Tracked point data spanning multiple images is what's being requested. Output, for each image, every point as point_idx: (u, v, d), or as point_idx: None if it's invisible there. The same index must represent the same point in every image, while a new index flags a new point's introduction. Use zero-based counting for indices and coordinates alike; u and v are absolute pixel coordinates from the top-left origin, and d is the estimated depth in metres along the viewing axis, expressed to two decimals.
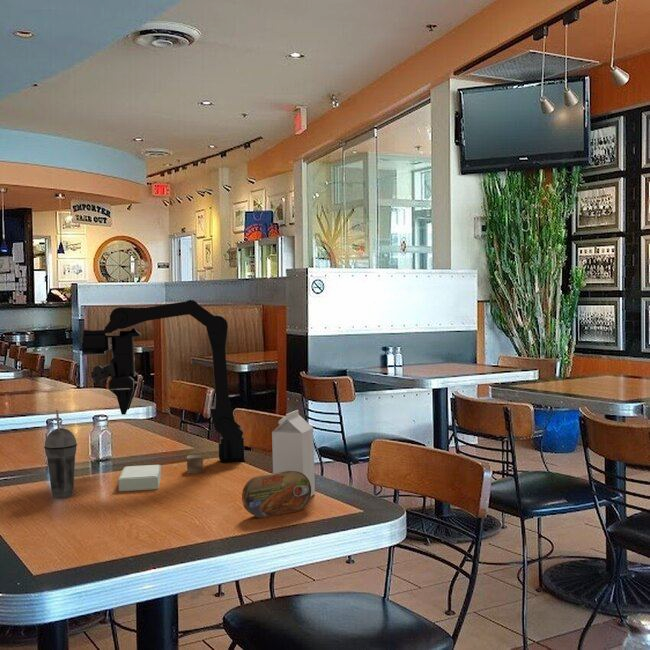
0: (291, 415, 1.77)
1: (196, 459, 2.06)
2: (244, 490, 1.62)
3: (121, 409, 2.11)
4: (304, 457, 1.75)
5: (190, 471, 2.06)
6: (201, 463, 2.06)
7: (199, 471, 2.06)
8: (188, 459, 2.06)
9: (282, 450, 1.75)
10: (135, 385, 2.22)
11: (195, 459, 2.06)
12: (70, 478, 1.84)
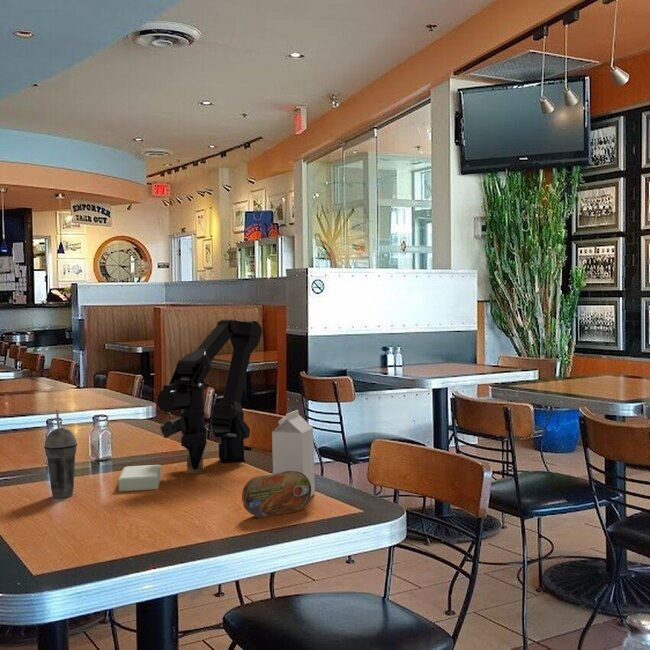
0: (291, 415, 1.77)
1: None
2: (244, 490, 1.62)
3: (193, 464, 2.05)
4: (304, 457, 1.75)
5: (190, 471, 2.06)
6: (201, 463, 2.06)
7: (199, 471, 2.06)
8: (188, 459, 2.06)
9: (282, 450, 1.75)
10: None
11: None
12: (70, 478, 1.84)
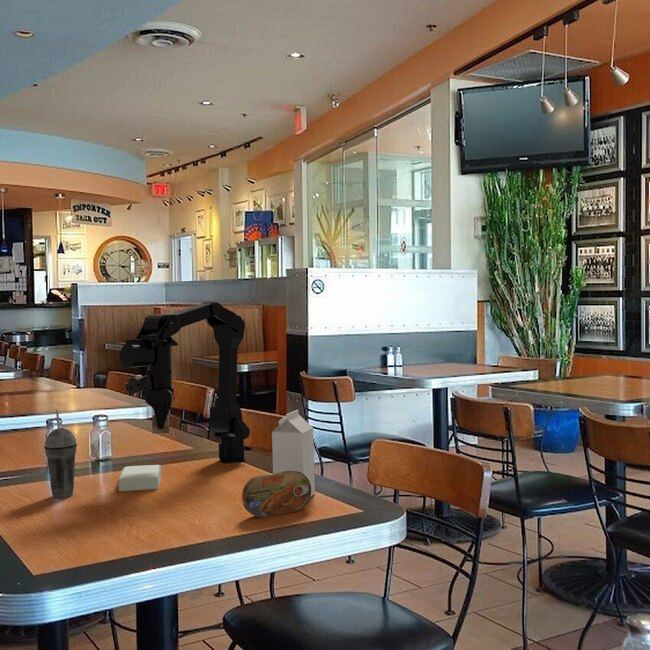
0: (291, 415, 1.77)
1: None
2: (244, 490, 1.62)
3: (158, 423, 1.97)
4: (304, 457, 1.75)
5: (156, 430, 1.98)
6: (167, 422, 1.98)
7: (165, 431, 1.98)
8: (153, 418, 1.98)
9: (282, 450, 1.75)
10: None
11: None
12: (70, 478, 1.84)
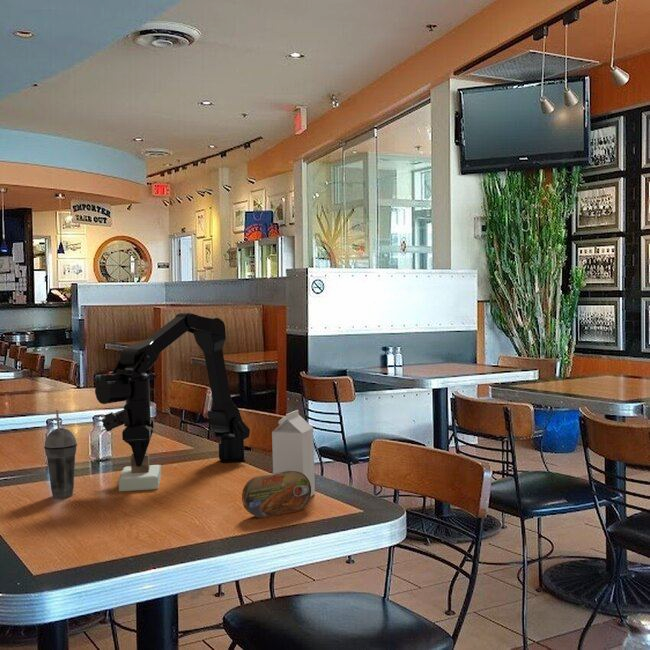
0: (291, 415, 1.77)
1: None
2: (244, 490, 1.62)
3: (136, 461, 1.91)
4: (304, 457, 1.75)
5: (135, 470, 1.94)
6: (146, 462, 1.94)
7: (144, 470, 1.94)
8: (132, 457, 1.94)
9: (282, 451, 1.75)
10: (150, 432, 2.01)
11: None
12: (70, 478, 1.84)
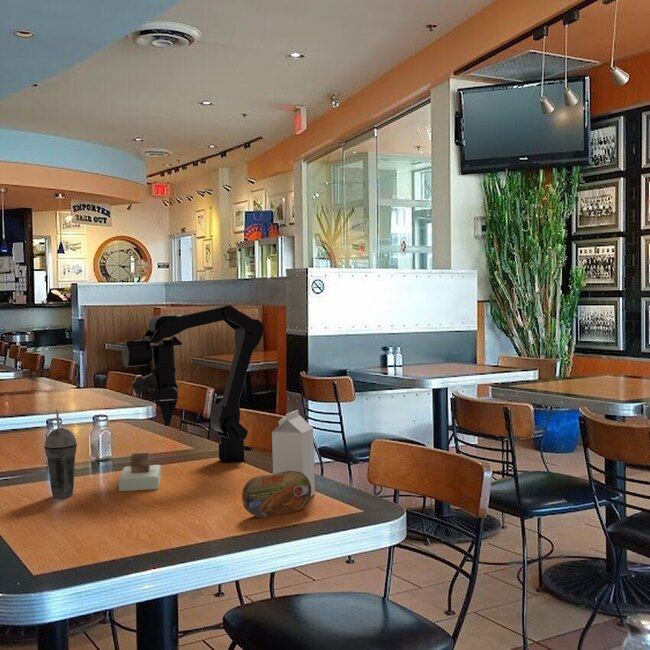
0: (291, 415, 1.77)
1: (141, 457, 1.94)
2: (244, 490, 1.62)
3: (165, 420, 2.06)
4: (304, 457, 1.75)
5: (135, 470, 1.94)
6: (146, 462, 1.94)
7: (144, 470, 1.94)
8: (132, 457, 1.94)
9: (282, 450, 1.75)
10: None
11: (140, 457, 1.94)
12: (70, 478, 1.84)
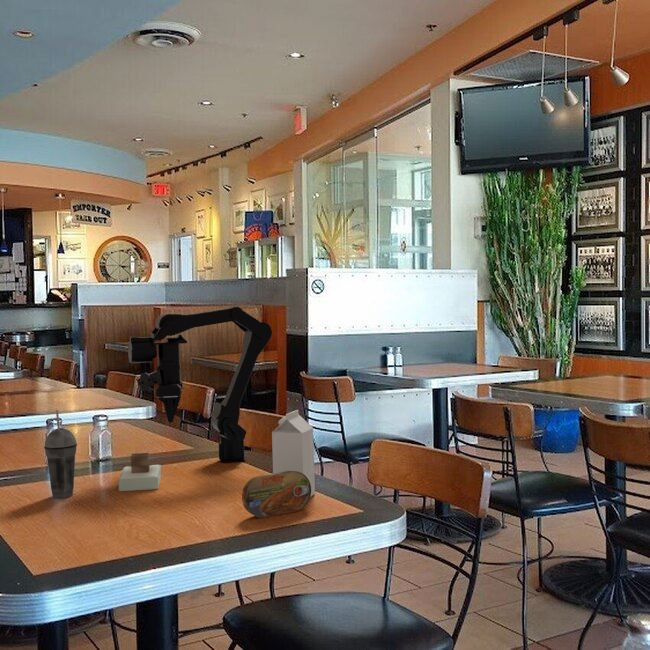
0: (291, 415, 1.77)
1: (141, 457, 1.94)
2: (244, 490, 1.62)
3: (168, 417, 2.09)
4: (304, 457, 1.75)
5: (135, 470, 1.94)
6: (146, 462, 1.94)
7: (144, 470, 1.94)
8: (132, 457, 1.94)
9: (282, 450, 1.75)
10: None
11: (140, 457, 1.94)
12: (70, 478, 1.84)
